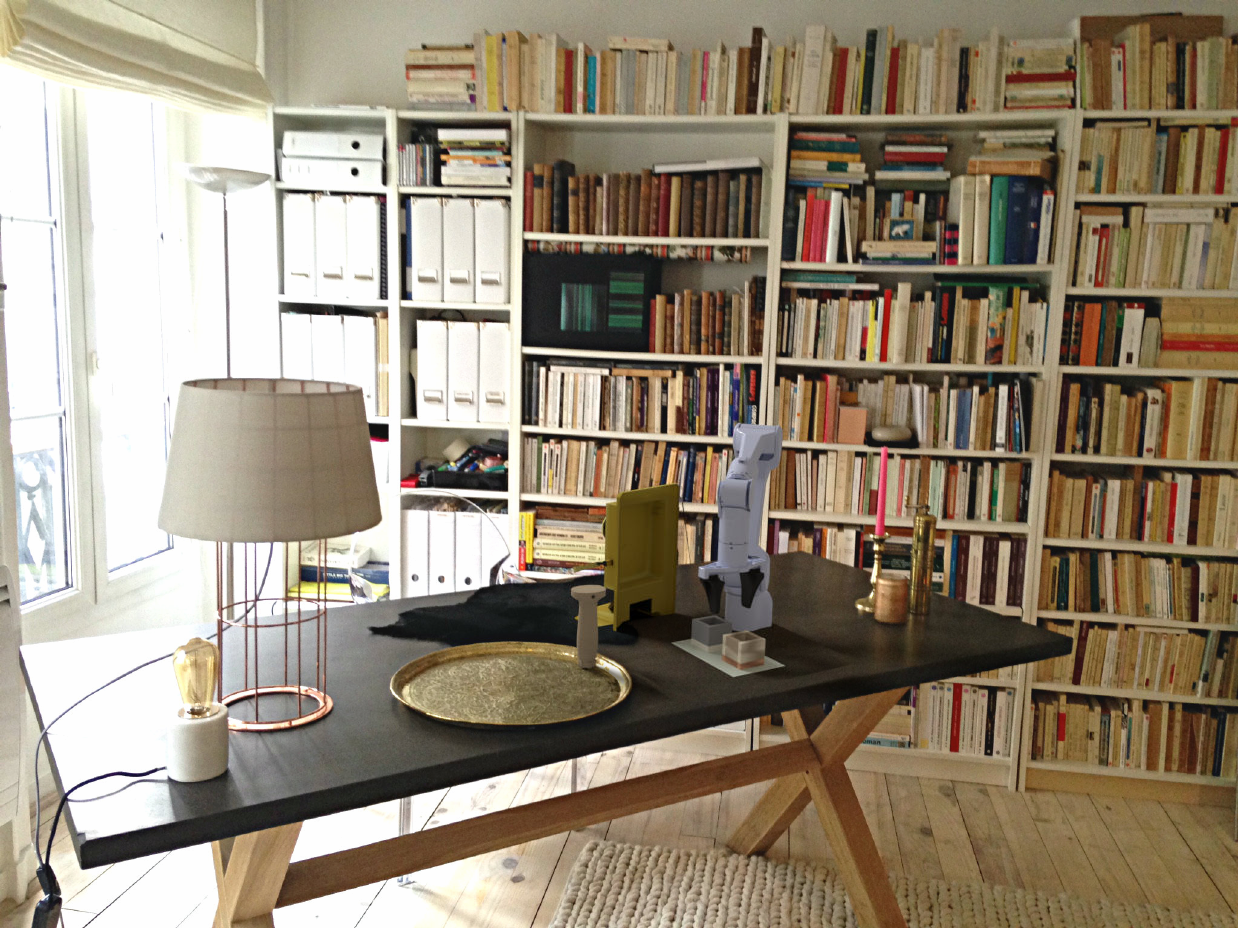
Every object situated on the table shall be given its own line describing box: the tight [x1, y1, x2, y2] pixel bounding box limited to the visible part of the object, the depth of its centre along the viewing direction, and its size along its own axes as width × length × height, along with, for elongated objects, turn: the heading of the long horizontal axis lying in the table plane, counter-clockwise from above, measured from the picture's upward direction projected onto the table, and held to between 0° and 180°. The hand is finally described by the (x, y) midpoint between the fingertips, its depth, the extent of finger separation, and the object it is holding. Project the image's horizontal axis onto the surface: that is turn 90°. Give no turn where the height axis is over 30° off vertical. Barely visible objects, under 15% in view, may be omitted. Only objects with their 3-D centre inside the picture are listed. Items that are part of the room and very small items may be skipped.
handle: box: [570, 584, 607, 669], centre depth 188 cm, size 5×6×15 cm
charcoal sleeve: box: [690, 614, 733, 653], centre depth 197 cm, size 6×6×5 cm
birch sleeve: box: [722, 630, 766, 670], centre depth 189 cm, size 6×6×5 cm
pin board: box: [671, 638, 786, 678], centre depth 193 cm, size 12×20×5 cm, turn 31°
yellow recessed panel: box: [572, 482, 693, 632], centre depth 214 cm, size 31×14×30 cm, turn 135°
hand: (730, 609), depth 195 cm, fingers open, 7 cm apart
